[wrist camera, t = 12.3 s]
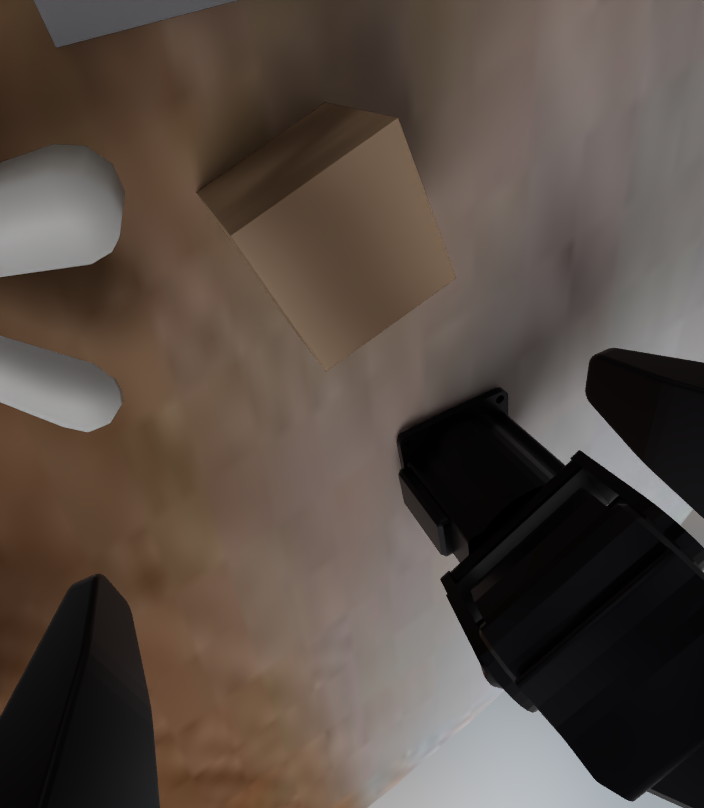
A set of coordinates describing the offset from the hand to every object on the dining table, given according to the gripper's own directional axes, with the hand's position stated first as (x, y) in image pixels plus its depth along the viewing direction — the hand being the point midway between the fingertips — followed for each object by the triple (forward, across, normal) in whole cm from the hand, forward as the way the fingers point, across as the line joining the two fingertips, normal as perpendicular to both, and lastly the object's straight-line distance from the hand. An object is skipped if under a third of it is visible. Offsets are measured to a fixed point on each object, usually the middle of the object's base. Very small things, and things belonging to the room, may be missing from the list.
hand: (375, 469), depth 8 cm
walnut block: (+12, -3, -1) cm, 12 cm away
